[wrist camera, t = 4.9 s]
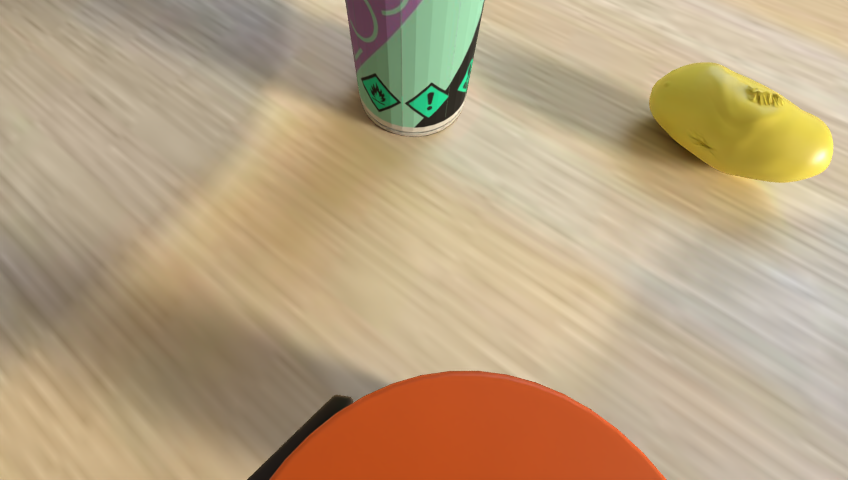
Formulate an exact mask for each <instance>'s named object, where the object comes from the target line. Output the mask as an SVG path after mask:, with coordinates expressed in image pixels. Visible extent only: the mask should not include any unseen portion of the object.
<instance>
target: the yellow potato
mask: <svg viewBox="0 0 848 480" xmlns="http://www.w3.org/2000/svg"><path fill="white" fill-rule="evenodd" d="M649 105H650V110H651V113H652V115H653V117H654V118H655V120H656V121H657V122H658V123H659V125H660V126H661V127H662V128H663V129H664V130H665V131H666V132H667V133H668V134H669V135H670V136H671V137H672V138H673V139H674V140H675V141H676V142H678V143H679V144H680V145H681V146H683V147H684V148H686V149H687V150H688V151H690V152H691V153H692V154H694V155H695V156H697V157H698V158H699V159H701V160H702V161H704V162H705V163H707V164H708V165H710V166H711V167H713V168H715V169H716V170H718V171H721V172H723V173H726V174H730V175H736V176H741V177H746V178H751V179H756V180H762V181H769V182H779V183H783V182H793V181H799V180H803V179H806V178H810V177H813V176H815V175H818V174H820V173H821V172H823V171H824V170H825V169H826V168H827V167H828V166H829V164H830V162H831V159H832V154H833V140H832V136H831V133H830V130H829V128H828V127H827V126H826V124H825V123H824V122H823V121H821V120H820V119H819V118H817V117H816V116H814V115H812V114H810V113H807V112H805V111H803V110H801V109H799V108H798V107H797V106H796V105H794V104H793V103H791V102H790V101H788V100H787V99H786V98H784V97H783V96H781V95H780V94H778V93H777V92H775V91H773V90H771V89H769V88H767V87H765V86H763V85H762V84H760V83H758V82H755V81H753V80H751V79H749V78H747V77H745V76H742V75H740V74H738V73H735V72H733V71H731V70H729V69H728V68H726V67H724V66H722V65H719V64H716V63H693V64H689V65H686V66H683V67H680V68H678V69H676V70H673V71H671V72H670V73H668V74H667V75H665V76H664V77H663V78H661V79H660V80H658V81H657V83H656V84H655V85H654V87H653V88H652V92H651V95H650V100H649Z"/></svg>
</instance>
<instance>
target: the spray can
mask: <svg viewBox="0 0 848 480" xmlns="http://www.w3.org/2000/svg"><path fill="white" fill-rule="evenodd" d="M345 1H346V8H347V15H348V21H349V28H350V35H351V42H352V48H353V55H354V62H355V68H356V75H357V82H358V89H359V95H360V99H361V103H362V106H363V109H364V110H365V112H366V114H367V115H368V117H369V118H370V119H371V120H372V121H373V122H374V123H375V124H377V125H378V126H380V127H381V128H383V129H385V130H387V131H389V132H391V133H395V134H399V135H402V136H425V135H429V134H433V133H436V132H438V131H441V130H443V129H444V128H446V127H447V126H449V125H450V124H452V123H453V122H454V120H455V119H456V118H457V117H458V116H459V114H460V112H461V111H462V108H463V105H464V101H465V98H466V94H467V88H468V83H469V78H470V73H471V68H472V63H473V57H474V52H475V47H476V42H477V37H478V32H479V26H480V21H481V16H482V11H483V6H484V1H485V0H345Z"/></svg>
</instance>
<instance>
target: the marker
mask: <svg viewBox="0 0 848 480" xmlns="http://www.w3.org/2000/svg"><path fill="white" fill-rule="evenodd" d="M269 480H666V478H665V477H664V476H663V475H662V474H661V473H660V472H659V470H658V469H657V468H656V467H655V466H654V465H653V464H652V462H651V461H650V460H649V459H648V458H647V457H646V455H645V454H644V453H643V452H642V451H641V450H640V449H638V448H637V447H636V446H635V445H634V444H633V443H632V442H631V441H630V440H629V439H628V438H627V437H626V436H624V435H623V434H622V433H621V432H620V431H619V430H618V429H617V428H615V427H614V426H613V425H611V424H610V423H609V422H607V421H606V420H604V419H603V418H602V417H600V416H599V415H598V414H596V413H595V412H594V411H592V410H591V409H589V408H587V407H586V406H584V405H582V404H580V403H579V402H577V401H575V400H573V399H571V398H570V397H568V396H566V395H564V394H562V393H560V392H558V391H555V390H553V389H550V388H548V387H545V386H543V385H541V384H538V383H536V382H532V381H529V380H525V379H521V378H517V377H514V376H510V375H506V374H498V373H490V372H482V371H447V372H440V373H434V374H427V375H420V376H417V377H413V378H410V379H407V380H403V381H400V382H396V383H393V384H390V385H388V386H386V387H384V388H381V389H379V390H377V391H375V392H372V393H370V394H368V395H366V396H363V397H362V398H360V399H359V400H357V401H355V402H354V403H352V404H350V405H349V406H347V407H345V408H344V409H342V410H341V411H339V412H337V413H336V414H335V415H333V416H332V417H331V418H330V419H328V420H327V421H326V422H325V423H323V424H322V425H321V426H320V427H318V428H317V429H316V430H315V431H313V432H312V433H311V434H310V435H309V436H308V437H307V438H306V439H305V440H304V441H303V442H302V443H301V444H300V445H299V446H298V447H297V448H296V449H295V450H294V451H293V452H292V453H291V454H290V455H289V456H288V457H287V458H286V459H285V460H284V462H283V463H282V464H281V465H280V467H279V468H278V469H277V470H276V472H275V473H274V474H273V476H272V477H271V478H270V479H269Z"/></svg>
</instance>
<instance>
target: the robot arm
mask: <svg viewBox="0 0 848 480" xmlns="http://www.w3.org/2000/svg"><path fill="white" fill-rule="evenodd" d="M352 403H353V399H352V398H351V397H348V396H341V395H335V396H333V397H332V398H331V399H330V400H329V401H328V402H327V403H326V404H325V405H324V406H323V407H322V408H321V409H320V410H319V411H317V412H316V413H315V414H314V415H313V416H312V417H311V418H310V419H309V420H308V421H307V422H306V423H305V424H304V425H303V426H302V427H301V428H300V429H299V430H298V431H297V432H296V433H295V434H294V435H293V436H292V437H291V438H290V439H289V440H288V441H287V442H285V443H284V444H283V445H282V446H281V447H280V448H279V449H278V450H277V451H276V452H275V453H274V454H273V455H272V456H271V457H270V458H269V459H268V460H267V461H266V462H265V463H264V464H263V465H262V466H261V467H260V468H259V469H258V470H257V471H256V472H255V473H254V474H252V475H251V476H250V477H249V478H248V479H247V480H269V479H270V478H271V477H272V476H273V474H274V473H275V472H276V470H277V469H278V468H279V467H280V465H281V464H282V463H283V462H284V460H285V459H286V458H287V457H288V456H289V455H290V454H291V453H292V452H293V451H294V450H295V449H296V448H297V447H298V446H299V445H300V444H301V443H302V442H303V441H304V440H305V439H306V438H307V437H308V436H309V435H310V434H311V433H312V432H313V431H315V430H316V429H317V428H318V427H320V426H321V425H322V424H323V423H325V422H326V421H327V420H328V419H330V418H331V417H332V416H333V415H335V414H336V413H337V412H339V411H341V410H342V409H344V408H345V407H347V406H349V405H350V404H352Z"/></svg>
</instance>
